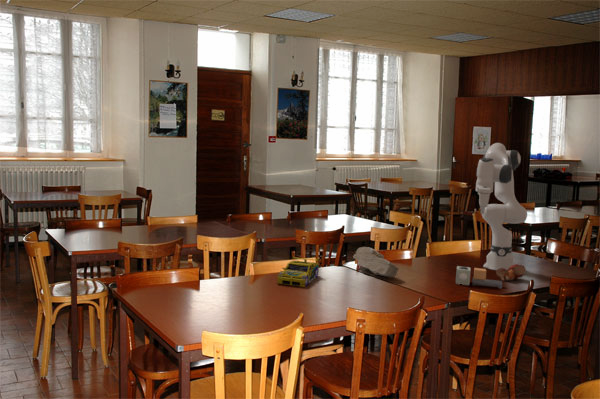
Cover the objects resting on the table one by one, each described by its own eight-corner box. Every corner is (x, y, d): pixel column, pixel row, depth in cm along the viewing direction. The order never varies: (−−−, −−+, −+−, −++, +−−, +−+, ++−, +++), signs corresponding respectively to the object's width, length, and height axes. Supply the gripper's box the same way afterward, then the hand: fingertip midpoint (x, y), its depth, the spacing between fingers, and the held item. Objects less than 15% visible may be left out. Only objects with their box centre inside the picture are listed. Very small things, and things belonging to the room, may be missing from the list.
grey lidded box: (455, 280, 320) (457, 266, 319) (469, 281, 318) (470, 267, 317) (455, 284, 312) (456, 269, 311) (469, 285, 310) (470, 270, 309)
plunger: (459, 275, 317) (460, 266, 316) (466, 276, 316) (467, 267, 315) (459, 277, 313) (460, 267, 313) (466, 277, 312) (467, 268, 312)
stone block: (392, 286, 314) (405, 262, 316) (379, 278, 309) (392, 253, 312) (356, 273, 343) (368, 251, 346) (344, 265, 339) (356, 243, 341)
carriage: (473, 280, 316) (474, 267, 315) (484, 282, 314) (486, 269, 313) (473, 283, 311) (474, 269, 310) (485, 284, 309) (486, 271, 309)
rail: (472, 282, 316) (472, 277, 316) (501, 285, 312) (501, 280, 312) (472, 285, 311) (472, 279, 311) (502, 288, 307) (502, 282, 307)
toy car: (275, 284, 296) (276, 265, 295) (292, 272, 322) (293, 255, 321) (305, 288, 292) (306, 268, 291) (319, 276, 318) (320, 257, 317)
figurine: (522, 283, 314) (537, 273, 323) (516, 267, 314) (531, 258, 323) (493, 287, 330) (508, 278, 339) (487, 273, 330) (502, 264, 339)
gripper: (477, 186, 325) (475, 211, 327) (478, 189, 306) (476, 215, 307) (489, 187, 324) (487, 212, 325) (491, 190, 304) (489, 216, 306)
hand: (482, 213), depth 316 cm, fingers closed
